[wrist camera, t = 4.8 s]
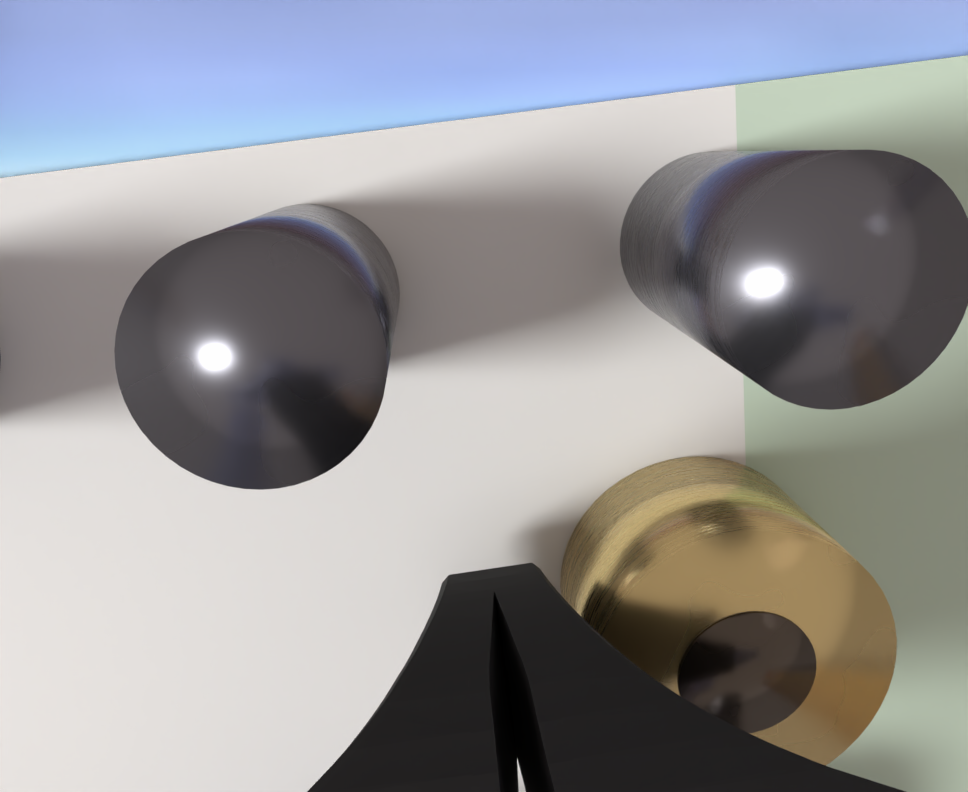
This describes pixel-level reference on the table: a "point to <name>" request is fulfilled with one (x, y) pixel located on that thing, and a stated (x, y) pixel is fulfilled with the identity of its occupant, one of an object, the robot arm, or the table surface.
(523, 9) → the table surface
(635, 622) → the brass knob
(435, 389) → the field mat
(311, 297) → the spacers
